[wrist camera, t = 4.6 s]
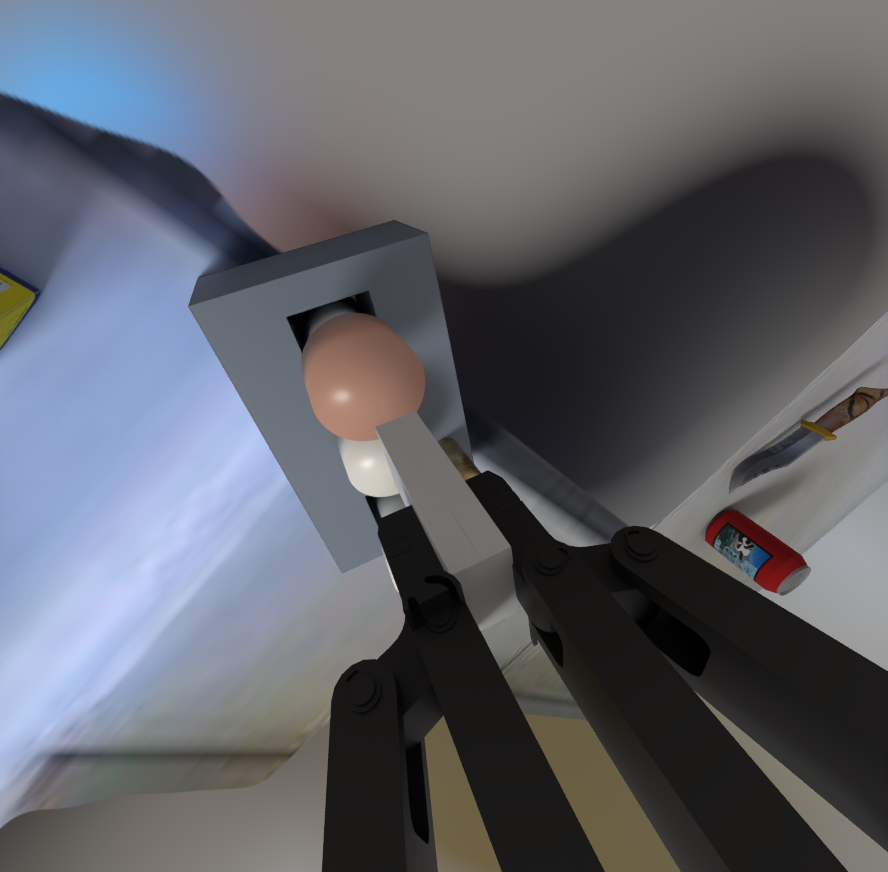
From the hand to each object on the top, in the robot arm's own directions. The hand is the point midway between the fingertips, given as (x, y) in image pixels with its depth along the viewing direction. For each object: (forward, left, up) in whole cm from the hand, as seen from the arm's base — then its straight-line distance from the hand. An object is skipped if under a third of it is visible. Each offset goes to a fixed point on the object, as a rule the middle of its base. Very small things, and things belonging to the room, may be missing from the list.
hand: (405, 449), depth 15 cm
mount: (0, -6, -16) cm, 18 cm away
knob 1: (0, 0, -12) cm, 12 cm away
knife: (+54, -35, -17) cm, 66 cm away
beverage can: (+46, -50, -17) cm, 70 cm away
